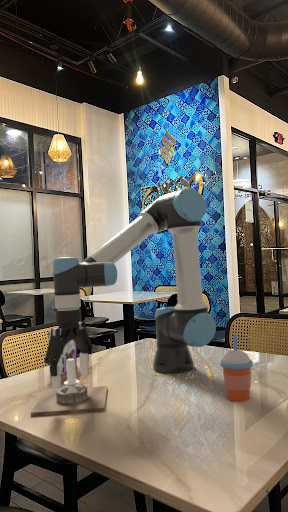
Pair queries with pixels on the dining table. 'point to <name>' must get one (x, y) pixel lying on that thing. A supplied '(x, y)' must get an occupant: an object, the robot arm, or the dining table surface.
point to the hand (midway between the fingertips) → (71, 380)
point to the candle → (71, 376)
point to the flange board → (71, 401)
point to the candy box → (66, 354)
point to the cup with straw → (237, 374)
